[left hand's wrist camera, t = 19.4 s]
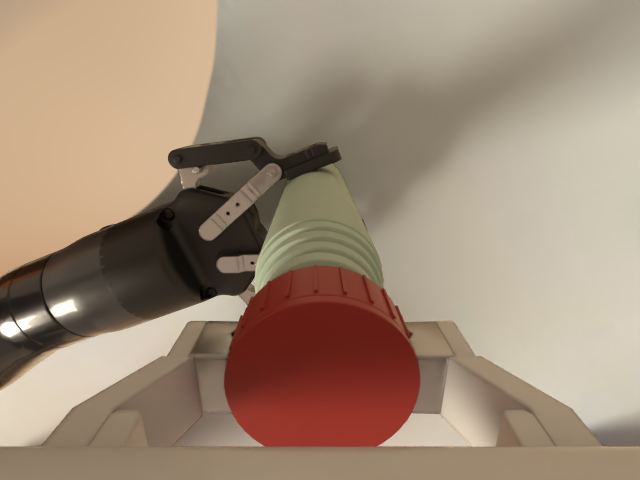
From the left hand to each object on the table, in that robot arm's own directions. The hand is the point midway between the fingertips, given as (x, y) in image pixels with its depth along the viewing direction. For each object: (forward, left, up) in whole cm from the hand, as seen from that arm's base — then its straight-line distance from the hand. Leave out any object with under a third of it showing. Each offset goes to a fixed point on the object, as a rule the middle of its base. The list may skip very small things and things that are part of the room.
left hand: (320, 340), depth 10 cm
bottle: (0, 0, -22) cm, 22 cm away
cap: (0, 0, +2) cm, 2 cm away
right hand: (-2, -1, -15) cm, 15 cm away
